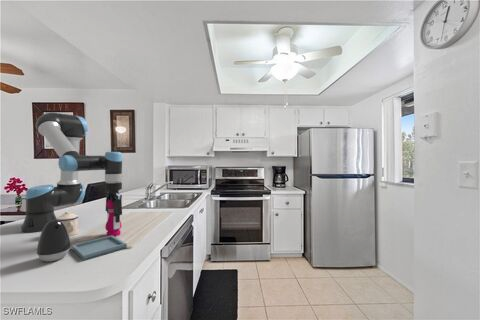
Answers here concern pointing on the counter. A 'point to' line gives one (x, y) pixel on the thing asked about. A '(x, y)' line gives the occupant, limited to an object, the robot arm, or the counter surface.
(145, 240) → the counter surface
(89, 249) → the tray
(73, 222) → the teacup with lid
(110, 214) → the pepper mill
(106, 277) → the counter surface
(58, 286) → the counter surface
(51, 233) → the black rounded piece
